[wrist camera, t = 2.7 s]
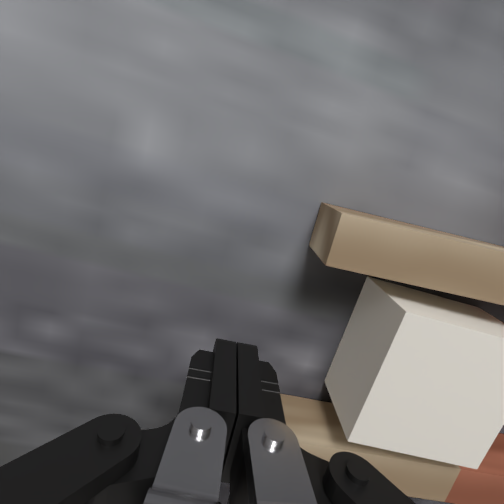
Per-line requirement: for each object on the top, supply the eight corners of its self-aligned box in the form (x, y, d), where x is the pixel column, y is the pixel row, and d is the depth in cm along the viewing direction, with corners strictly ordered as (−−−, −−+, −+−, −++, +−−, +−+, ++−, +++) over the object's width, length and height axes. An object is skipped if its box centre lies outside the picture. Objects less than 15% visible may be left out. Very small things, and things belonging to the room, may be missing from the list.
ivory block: (365, 274, 16) (406, 311, 12) (476, 305, 17) (547, 349, 13) (323, 378, 17) (347, 441, 14) (426, 403, 18) (476, 469, 14)
